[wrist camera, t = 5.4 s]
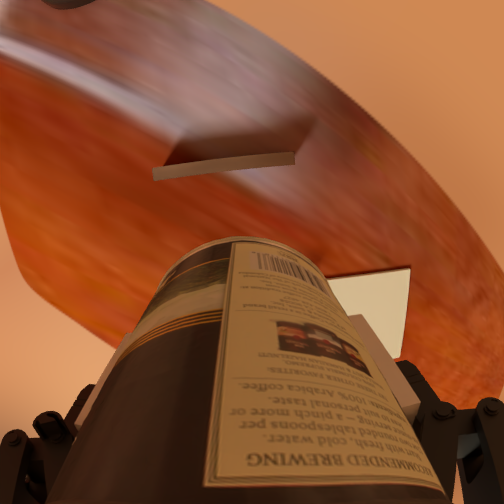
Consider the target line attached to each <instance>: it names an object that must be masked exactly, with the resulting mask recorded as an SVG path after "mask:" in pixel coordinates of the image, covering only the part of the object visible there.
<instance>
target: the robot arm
mask: <svg viewBox="0 0 504 504" xmlns="http://www.w3.org/2000/svg"><path fill="white" fill-rule="evenodd" d="M41 1H43V2H44V3H46V4H47V5H49V6H51V7H53V8H56V9H72V8H77V7H80V6H83V5H86V4H88V3H91V2H93V1H95V0H41ZM348 318H349V319H350V321H351V323H352V324H353V326H354V327H355V329H356V330H357V332H358V334H359V335H360V337H361V339H362V341H363V342H364V344H365V346H366V347H367V350H368V352H369V353H370V355H371V356H372V358H373V360H374V361H375V363H376V365H377V366H378V368H379V370H380V371H381V373H382V374H383V376H384V378H385V379H386V381H387V383H388V385H389V387H390V389H391V391H392V392H393V394H394V395H395V397H396V398H397V400H398V402H399V404H400V406H401V408H402V410H403V412H404V413H405V415H406V417H407V419H408V420H409V422H410V423H411V425H412V427H413V429H414V431H415V434H416V436H417V437H418V439H419V441H420V443H421V445H422V447H423V448H424V450H425V453H426V455H427V457H428V459H429V461H430V463H431V465H432V467H433V469H434V471H435V473H436V475H437V477H438V479H439V481H440V483H441V484H442V486H443V488H444V490H445V492H446V494H447V495H448V497H449V499H450V502H452V498H453V491H454V483H455V474H456V463H457V465H458V470H459V475H460V481H461V486H462V493H463V500H464V504H504V403H503V402H502V401H500V400H499V399H496V398H493V397H487V398H484V399H482V400H481V401H479V402H478V405H477V407H476V408H475V409H464V410H457V409H456V407H455V406H454V405H452V404H450V403H448V402H443V401H440V399H439V398H438V396H437V395H436V394H435V392H434V391H433V389H432V388H431V387H430V385H429V384H428V382H427V381H425V378H424V377H423V375H421V373H420V371H419V370H418V369H417V367H416V366H415V365H414V364H412V363H410V362H409V361H407V360H404V361H399V362H394V360H393V359H392V357H391V356H390V354H389V353H388V351H387V350H386V348H385V347H384V345H383V344H382V342H381V341H380V340H379V338H378V337H377V335H376V334H375V332H374V331H373V329H372V328H371V327H370V325H369V324H368V322H367V321H366V319H365V318H364V316H363V315H362V314H357V315H350V316H348ZM131 335H132V333H126V335H125V337H124V338H123V340H122V342H121V343H120V345H119V347H118V348H117V350H116V351H115V353H114V355H113V357H112V358H111V360H110V362H109V363H108V365H107V367H106V368H105V370H104V372H103V373H102V375H101V377H100V379H99V381H98V382H97V384H96V385H94V384H89V385H87V386H86V387H85V388H84V389H83V390H82V391H81V392H80V394H79V395H78V397H77V400H75V402H74V404H73V406H72V407H71V409H70V410H69V412H68V414H67V416H66V417H65V419H64V420H63V418H62V416H61V415H60V414H59V413H58V412H55V411H46V412H44V413H41V414H40V415H39V416H37V417H36V418H35V420H34V421H33V427H34V429H35V430H36V432H37V433H38V435H39V436H40V438H29V437H28V436H27V435H26V433H25V432H24V431H22V430H19V429H16V430H12V431H9V432H8V433H7V434H6V435H5V436H4V437H3V439H2V442H1V445H0V504H45V502H46V500H47V497H48V495H49V493H50V491H51V489H52V487H53V485H54V483H55V481H56V478H57V476H58V474H59V472H60V470H61V468H62V466H63V464H64V462H65V460H66V458H67V455H68V453H69V451H70V449H71V447H72V445H73V442H74V440H75V438H76V435H77V433H78V431H79V430H80V427H81V425H82V423H83V421H84V419H85V417H86V416H87V414H88V413H89V410H90V407H91V406H92V404H93V403H94V401H95V400H96V398H97V396H98V394H99V392H100V390H101V388H102V386H103V384H104V382H105V381H106V379H107V377H108V375H109V374H110V372H111V370H112V368H113V367H114V365H115V363H116V361H117V359H118V358H119V356H120V354H121V352H122V350H123V349H124V347H125V345H126V343H127V342H128V340H129V338H130V336H131Z"/></svg>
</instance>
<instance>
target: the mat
mask: <svg viewBox="0 0 504 504" xmlns="http://www.w3.org/2000/svg"><path fill="white" fill-rule="evenodd" d="M409 280H410V269H409V268H404V269H397V270H390V271H383V272H375V273H368V274H360V275H352V276H344V277H336V278H328V279H327V281H328V283H329V285H330V287H331V289H332V292H333V294H334V295H335V297H336V298H337V300H338V301H339V303H340V304H341V306H342V308H343V309H344V310H345V312H346V314H347V316H350V315H357V314H362V315H363V316H364V318H365V319H366V321H367V322H368V324H369V325H370V327H371V328H372V329H373V331H374V332H375V334H376V335H377V337H378V338H379V340H380V341H381V342H382V344H383V345H384V347H385V348H386V350H387V351H388V353H389V354H390V356H391V357H392V359H394V358H398V357H400V353H401V347H402V340H403V333H404V326H405V319H406V310H407V301H408V292H409Z"/></svg>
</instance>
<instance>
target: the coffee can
mask: <svg viewBox="0 0 504 504" xmlns="http://www.w3.org/2000/svg"><path fill="white" fill-rule="evenodd" d="M45 504H453V503H452V502H450V499H449V497H448V495H447V494H446V492H445V490H444V488H443V486H442V484H441V483H440V481H439V479H438V477H437V475H436V473H435V471H434V469H433V467H432V465H431V463H430V461H429V459H428V457H427V455H426V453H425V450H424V448H423V447H422V445H421V443H420V441H419V439H418V437H417V436H416V434H415V431H414V429H413V427H412V425H411V423H410V422H409V420H408V419H407V417H406V415H405V413H404V412H403V410H402V408H401V406H400V404H399V402H398V400H397V398H396V397H395V395H394V394H393V392H392V391H391V389H390V387H389V385H388V383H387V381H386V379H385V378H384V376H383V374H382V373H381V371H380V370H379V368H378V366H377V365H376V363H375V361H374V360H373V358H372V356H371V355H370V353H369V352H368V350H367V347H366V346H365V344H364V342H363V341H362V339H361V337H360V335H359V334H358V332H357V330H356V329H355V327H354V326H353V324H352V323H351V321H350V319H349V318H348V316H347V314H346V312H345V310H344V309H343V308H342V306H341V304H340V303H339V301H338V300H337V298H336V297H335V295H334V294H333V292H332V289H331V287H330V285H329V283H328V281H327V279H326V278H325V277H324V275H323V274H322V272H321V271H320V270H319V268H318V267H317V266H316V265H315V264H314V263H313V262H312V261H311V260H310V259H308V258H307V257H305V256H304V255H303V254H301V253H300V252H298V251H296V250H295V249H293V248H291V247H289V246H287V245H284V244H282V243H279V242H276V241H272V240H269V239H265V238H259V237H242V236H234V237H228V238H224V239H219V240H215V241H211V242H209V243H206V244H203V245H201V246H199V247H197V248H195V249H193V250H192V251H190V252H189V253H187V254H186V255H184V256H183V257H181V258H180V259H179V260H178V261H177V262H176V263H175V264H174V265H173V266H172V267H171V268H170V269H169V270H168V271H167V273H166V274H165V275H164V277H163V278H162V280H161V282H160V284H159V286H158V288H157V291H156V293H155V295H154V297H153V298H152V300H151V301H150V303H149V305H148V306H147V309H146V310H145V312H144V313H143V315H142V317H141V319H140V321H139V322H138V324H137V326H136V328H135V329H134V331H133V333H132V335H131V336H130V338H129V340H128V342H127V343H126V345H125V347H124V349H123V350H122V352H121V354H120V356H119V358H118V359H117V361H116V363H115V365H114V367H113V368H112V370H111V372H110V374H109V375H108V377H107V379H106V381H105V382H104V384H103V386H102V388H101V390H100V392H99V394H98V396H97V398H96V400H95V401H94V403H93V404H92V406H91V407H90V410H89V413H88V414H87V416H86V417H85V419H84V421H83V423H82V425H81V427H80V430H79V431H78V433H77V435H76V438H75V440H74V442H73V445H72V447H71V449H70V451H69V453H68V455H67V458H66V460H65V462H64V464H63V466H62V468H61V470H60V472H59V474H58V476H57V478H56V481H55V483H54V485H53V487H52V489H51V491H50V493H49V495H48V497H47V500H46V502H45Z"/></svg>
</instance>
